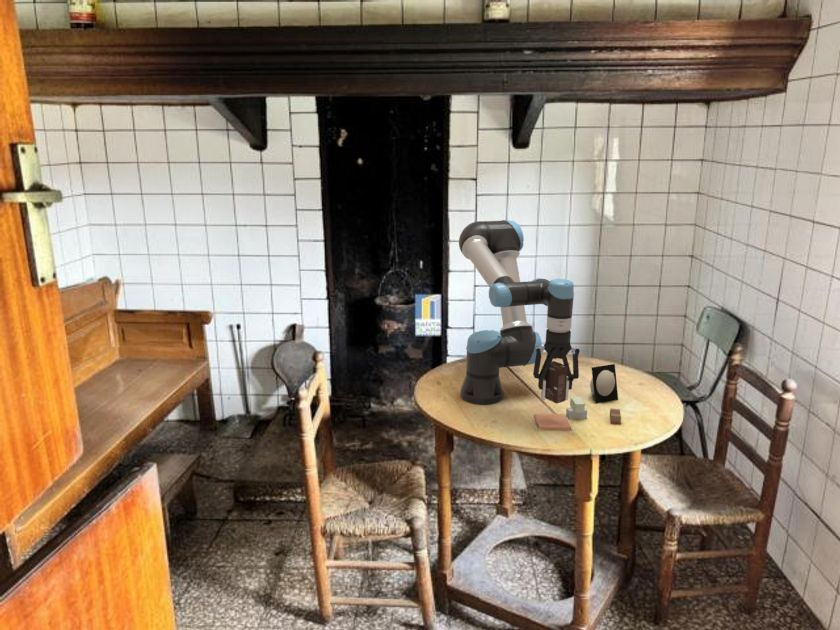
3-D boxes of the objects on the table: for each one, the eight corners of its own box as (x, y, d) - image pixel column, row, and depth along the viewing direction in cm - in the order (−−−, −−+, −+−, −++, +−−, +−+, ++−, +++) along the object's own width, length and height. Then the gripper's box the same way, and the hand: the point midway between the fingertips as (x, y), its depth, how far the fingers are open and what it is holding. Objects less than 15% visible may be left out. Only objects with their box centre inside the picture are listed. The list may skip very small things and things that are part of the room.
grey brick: (568, 419, 210) (569, 411, 209) (565, 415, 212) (566, 407, 212) (586, 419, 210) (587, 410, 209) (583, 415, 213) (584, 406, 212)
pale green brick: (584, 412, 208) (584, 404, 207) (575, 412, 208) (575, 404, 207) (578, 405, 214) (579, 396, 213) (569, 405, 213) (570, 397, 213)
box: (542, 398, 205) (544, 362, 202) (552, 395, 207) (554, 360, 204) (556, 404, 200) (558, 368, 197) (566, 401, 203) (568, 365, 200)
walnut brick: (620, 425, 206) (621, 416, 205) (610, 424, 206) (611, 415, 206) (618, 417, 211) (619, 409, 211) (609, 416, 212) (610, 408, 211)
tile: (539, 429, 201) (539, 427, 201) (534, 416, 211) (534, 413, 211) (571, 430, 201) (571, 427, 201) (564, 417, 211) (564, 414, 211)
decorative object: (582, 401, 229) (604, 398, 233) (600, 404, 219) (623, 400, 223) (578, 366, 229) (601, 363, 232) (596, 367, 219) (620, 364, 223)
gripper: (528, 332, 194) (525, 402, 200) (593, 333, 194) (587, 403, 200) (525, 325, 202) (521, 393, 207) (587, 326, 201) (582, 394, 207)
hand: (554, 398), depth 204 cm, fingers closed on box, 7 cm apart
